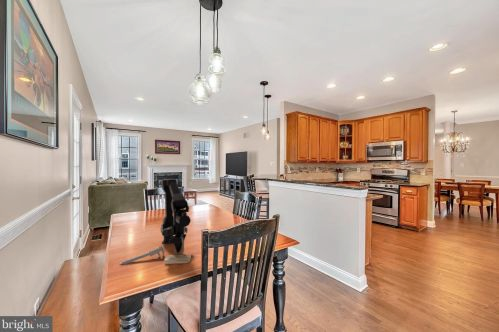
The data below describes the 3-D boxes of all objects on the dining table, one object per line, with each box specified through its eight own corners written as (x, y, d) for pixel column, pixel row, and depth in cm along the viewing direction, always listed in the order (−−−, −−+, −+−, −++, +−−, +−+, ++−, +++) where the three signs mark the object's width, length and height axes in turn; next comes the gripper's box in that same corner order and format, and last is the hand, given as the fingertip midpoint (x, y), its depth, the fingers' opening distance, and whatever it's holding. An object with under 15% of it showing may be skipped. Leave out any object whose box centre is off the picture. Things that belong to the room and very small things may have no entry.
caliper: (163, 255, 112) (163, 244, 112) (164, 256, 112) (164, 245, 111) (119, 264, 102) (119, 252, 102) (119, 265, 101) (119, 253, 101)
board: (166, 259, 107) (166, 255, 107) (190, 258, 109) (190, 254, 109) (164, 264, 103) (164, 259, 103) (189, 262, 105) (189, 258, 105)
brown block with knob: (175, 251, 114) (175, 240, 114) (184, 251, 115) (184, 240, 115) (173, 255, 110) (173, 243, 110) (182, 254, 111) (182, 243, 110)
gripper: (167, 217, 120) (167, 244, 121) (158, 227, 102) (158, 259, 102) (187, 217, 122) (187, 243, 122) (181, 227, 103) (181, 258, 104)
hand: (179, 250), depth 112 cm, fingers closed on brown block with knob, 4 cm apart
